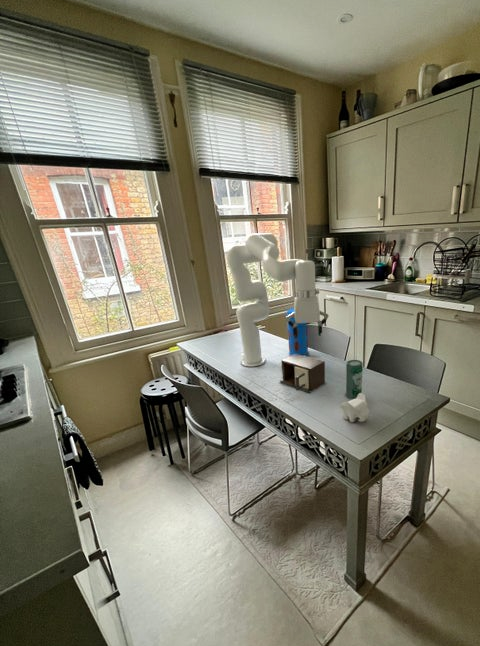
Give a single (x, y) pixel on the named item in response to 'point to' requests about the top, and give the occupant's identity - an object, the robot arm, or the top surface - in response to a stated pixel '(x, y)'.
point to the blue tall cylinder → (301, 341)
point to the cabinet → (312, 365)
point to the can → (353, 378)
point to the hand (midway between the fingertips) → (307, 335)
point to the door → (301, 378)
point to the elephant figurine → (356, 409)
